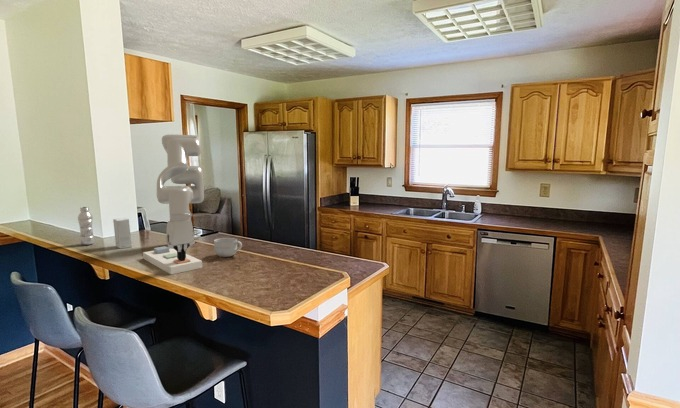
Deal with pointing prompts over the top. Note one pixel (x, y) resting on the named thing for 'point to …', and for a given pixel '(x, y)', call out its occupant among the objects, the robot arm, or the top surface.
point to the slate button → (161, 250)
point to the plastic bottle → (86, 226)
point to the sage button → (170, 256)
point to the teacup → (226, 246)
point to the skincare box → (122, 233)
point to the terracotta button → (181, 261)
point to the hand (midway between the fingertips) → (181, 260)
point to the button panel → (171, 262)
